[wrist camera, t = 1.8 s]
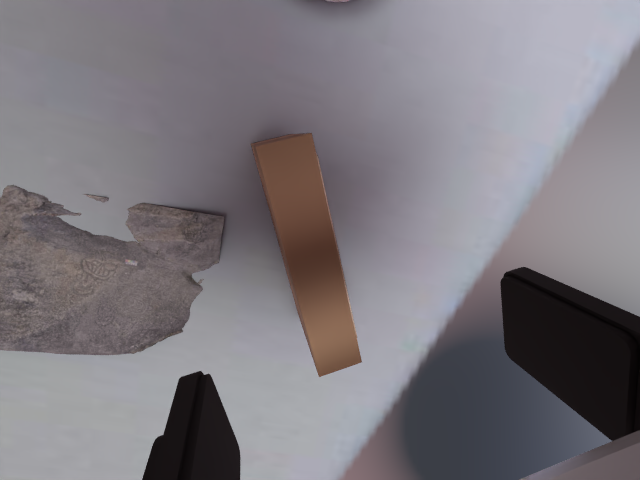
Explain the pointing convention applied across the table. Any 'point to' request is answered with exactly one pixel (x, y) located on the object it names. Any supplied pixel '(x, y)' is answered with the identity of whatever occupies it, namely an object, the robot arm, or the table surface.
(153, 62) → the table surface
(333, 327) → the brown wooden block
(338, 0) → the ramekin
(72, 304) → the stone slab
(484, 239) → the table surface
